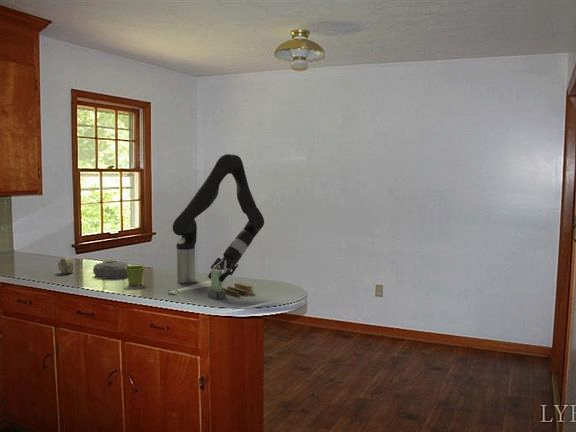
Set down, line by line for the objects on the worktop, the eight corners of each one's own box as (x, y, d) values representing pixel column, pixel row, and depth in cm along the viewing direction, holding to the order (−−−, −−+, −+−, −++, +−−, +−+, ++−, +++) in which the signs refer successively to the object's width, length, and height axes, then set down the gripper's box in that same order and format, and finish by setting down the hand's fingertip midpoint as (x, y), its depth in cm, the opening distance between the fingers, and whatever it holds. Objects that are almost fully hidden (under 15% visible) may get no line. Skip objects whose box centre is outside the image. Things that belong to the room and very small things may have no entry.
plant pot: (149, 283, 260) (148, 266, 259) (133, 287, 252) (133, 269, 251) (136, 281, 265) (136, 265, 264) (121, 285, 257) (121, 267, 256)
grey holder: (216, 296, 233) (216, 287, 233) (226, 299, 227) (226, 291, 227) (206, 298, 230) (206, 289, 229) (216, 301, 224) (216, 292, 223)
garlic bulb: (68, 278, 284) (67, 263, 280) (54, 275, 286) (52, 260, 281) (78, 270, 293) (76, 255, 289) (64, 267, 294) (63, 252, 290)
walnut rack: (237, 290, 245) (237, 284, 244) (255, 295, 234) (255, 289, 234) (219, 294, 238) (218, 287, 237) (237, 299, 227) (236, 293, 227)
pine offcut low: (237, 289, 243) (237, 285, 243) (253, 293, 234) (253, 289, 234) (231, 290, 241) (231, 286, 241) (246, 294, 232) (246, 290, 232)
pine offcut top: (239, 286, 241) (239, 282, 241) (252, 289, 234) (252, 285, 234) (234, 287, 239) (234, 283, 239) (246, 290, 232) (246, 286, 232)
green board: (215, 295, 231) (214, 269, 230) (222, 297, 227) (221, 270, 226) (211, 296, 230) (211, 269, 229) (218, 298, 226) (218, 271, 225)
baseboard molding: (230, 285, 259) (211, 282, 265) (229, 279, 259) (211, 277, 265) (187, 298, 233) (168, 295, 239) (187, 292, 232) (168, 289, 239)
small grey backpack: (89, 277, 278) (115, 280, 268) (88, 261, 277) (115, 265, 267) (111, 272, 291) (137, 275, 281) (111, 257, 290) (136, 260, 280)
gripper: (221, 244, 237) (200, 272, 230) (240, 247, 226) (218, 276, 220) (231, 254, 241) (210, 282, 234) (249, 258, 230) (229, 287, 224)
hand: (214, 279), depth 227 cm, fingers open, 8 cm apart
